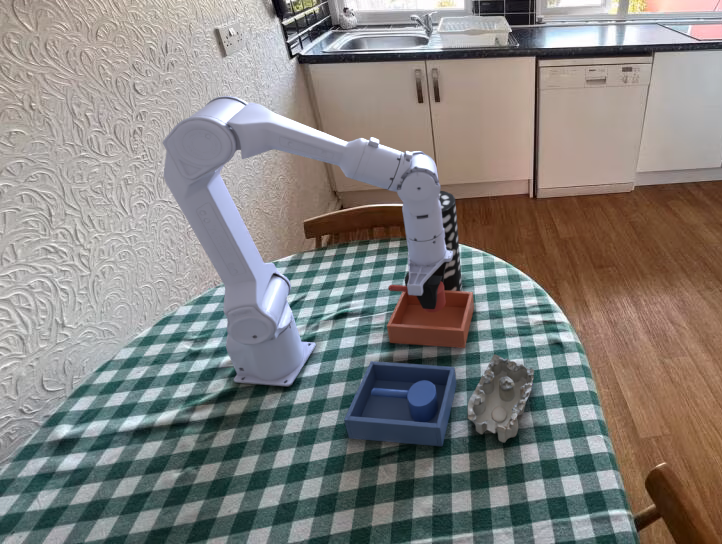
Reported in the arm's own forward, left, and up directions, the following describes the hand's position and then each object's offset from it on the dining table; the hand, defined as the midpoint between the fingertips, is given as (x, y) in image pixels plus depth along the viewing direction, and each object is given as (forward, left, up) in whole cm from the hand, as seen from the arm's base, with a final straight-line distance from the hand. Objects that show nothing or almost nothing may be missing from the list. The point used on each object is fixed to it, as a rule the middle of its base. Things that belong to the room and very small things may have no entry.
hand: (432, 297), depth 70 cm
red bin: (-1, +2, -9) cm, 9 cm away
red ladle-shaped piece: (-3, 0, -1) cm, 3 cm away
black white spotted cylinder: (-2, +12, +2) cm, 12 cm away
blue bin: (-1, -14, -9) cm, 16 cm away
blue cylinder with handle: (-1, -14, -8) cm, 16 cm away
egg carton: (+13, -12, -9) cm, 20 cm away
